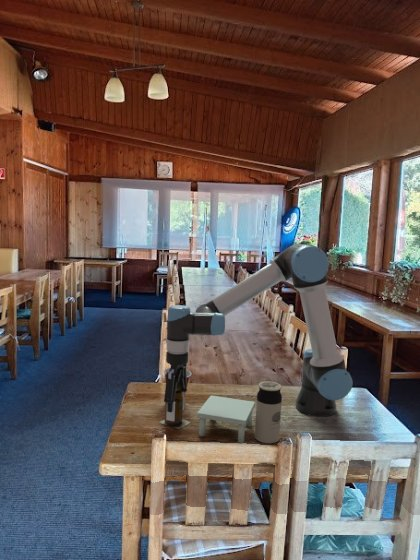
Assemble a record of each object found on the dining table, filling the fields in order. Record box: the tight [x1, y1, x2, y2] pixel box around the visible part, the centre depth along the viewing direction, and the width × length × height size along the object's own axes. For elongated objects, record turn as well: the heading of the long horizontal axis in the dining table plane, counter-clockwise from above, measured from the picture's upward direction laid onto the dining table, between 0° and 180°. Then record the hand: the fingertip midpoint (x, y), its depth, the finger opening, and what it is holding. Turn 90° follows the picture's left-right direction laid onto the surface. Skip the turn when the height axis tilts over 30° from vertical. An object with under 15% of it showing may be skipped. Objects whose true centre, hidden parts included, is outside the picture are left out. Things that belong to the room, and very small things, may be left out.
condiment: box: [159, 387, 192, 430], centre depth 154 cm, size 7×8×12 cm
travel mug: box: [254, 381, 283, 444], centre depth 145 cm, size 8×8×18 cm
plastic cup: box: [163, 367, 192, 398], centre depth 173 cm, size 11×11×12 cm
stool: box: [196, 395, 256, 444], centre depth 150 cm, size 16×16×8 cm
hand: (175, 414), depth 155 cm, fingers open, 9 cm apart
